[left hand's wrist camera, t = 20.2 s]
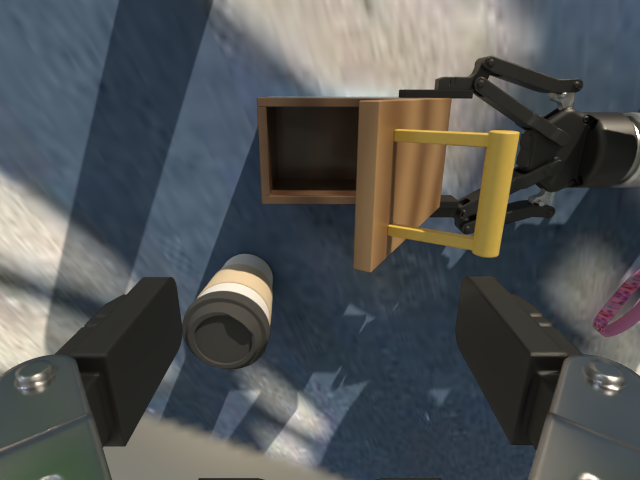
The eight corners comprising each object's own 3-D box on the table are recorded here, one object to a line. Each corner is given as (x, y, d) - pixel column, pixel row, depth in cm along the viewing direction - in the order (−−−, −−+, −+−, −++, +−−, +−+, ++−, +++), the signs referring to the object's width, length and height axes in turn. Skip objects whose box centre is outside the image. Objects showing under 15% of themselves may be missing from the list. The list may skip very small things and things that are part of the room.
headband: (609, 335, 56) (619, 344, 54) (587, 324, 56) (597, 332, 54) (665, 273, 53) (679, 281, 51) (642, 261, 52) (655, 267, 50)
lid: (352, 269, 25) (487, 299, 22) (358, 100, 22) (520, 102, 18) (427, 205, 40) (515, 217, 36) (437, 97, 36) (537, 98, 33)
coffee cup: (250, 318, 55) (227, 395, 41) (199, 277, 53) (156, 344, 39) (295, 276, 53) (286, 342, 39) (243, 232, 51) (214, 285, 37)
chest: (271, 184, 49) (261, 204, 40) (268, 96, 45) (256, 97, 37) (411, 184, 49) (431, 204, 40) (418, 97, 45) (442, 97, 37)
